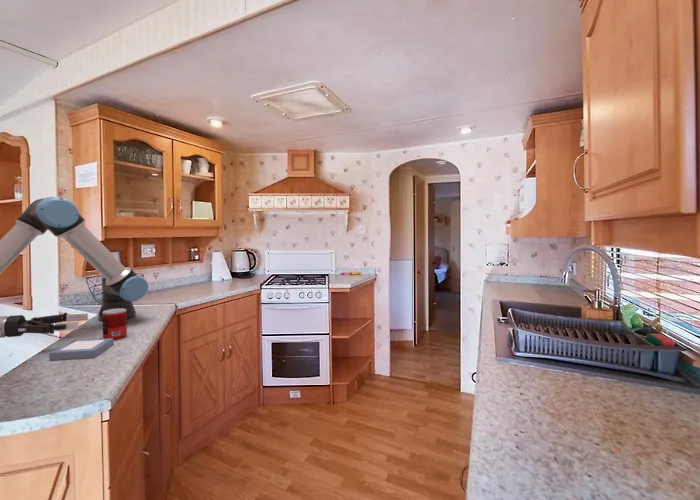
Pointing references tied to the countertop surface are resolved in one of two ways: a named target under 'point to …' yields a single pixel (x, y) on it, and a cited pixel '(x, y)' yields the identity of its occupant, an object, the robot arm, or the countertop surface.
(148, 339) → the countertop surface
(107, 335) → the canned food
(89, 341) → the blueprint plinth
